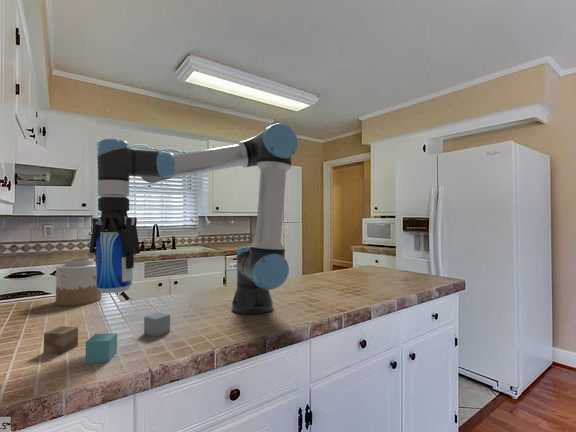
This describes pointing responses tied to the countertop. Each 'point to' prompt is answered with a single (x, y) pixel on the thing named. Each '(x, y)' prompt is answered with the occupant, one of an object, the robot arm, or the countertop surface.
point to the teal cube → (101, 348)
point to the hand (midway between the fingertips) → (114, 279)
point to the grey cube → (156, 324)
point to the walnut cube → (60, 340)
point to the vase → (77, 282)
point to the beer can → (110, 263)
